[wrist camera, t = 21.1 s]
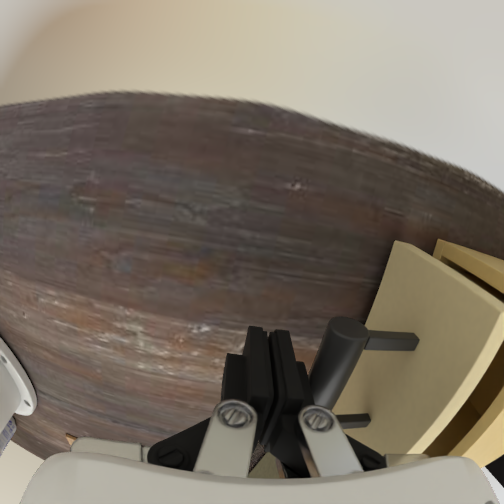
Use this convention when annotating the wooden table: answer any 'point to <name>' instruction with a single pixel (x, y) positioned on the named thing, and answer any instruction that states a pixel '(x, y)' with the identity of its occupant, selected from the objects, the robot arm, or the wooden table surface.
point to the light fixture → (497, 469)
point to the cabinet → (500, 411)
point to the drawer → (414, 358)
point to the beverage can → (7, 434)
